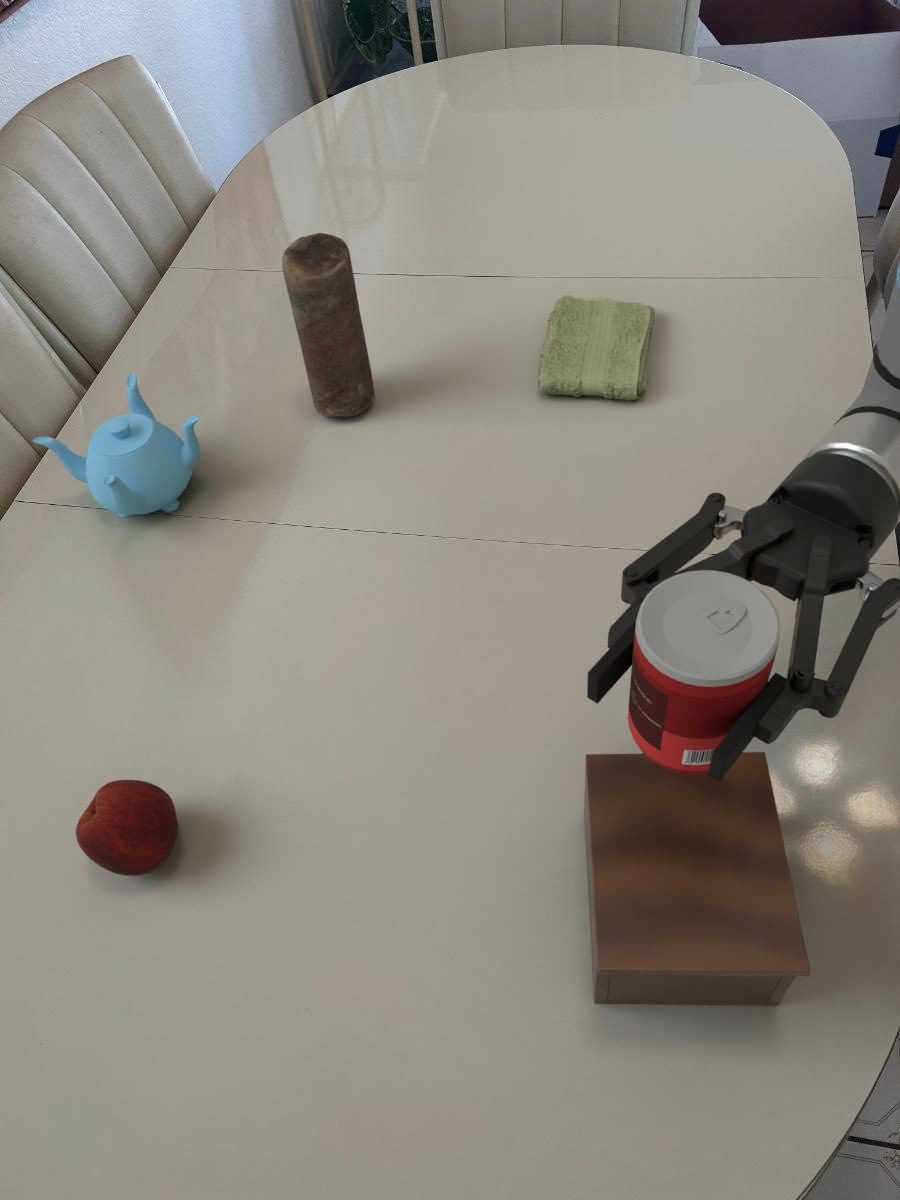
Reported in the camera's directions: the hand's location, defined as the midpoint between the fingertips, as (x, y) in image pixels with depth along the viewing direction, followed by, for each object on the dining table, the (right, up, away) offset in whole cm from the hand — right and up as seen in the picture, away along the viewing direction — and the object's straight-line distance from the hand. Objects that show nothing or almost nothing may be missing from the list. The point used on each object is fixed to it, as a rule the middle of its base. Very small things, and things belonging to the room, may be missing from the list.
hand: (652, 726), depth 53 cm
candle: (-24, +30, +58) cm, 70 cm away
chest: (+5, -16, +17) cm, 24 cm away
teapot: (-45, +19, +52) cm, 71 cm away
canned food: (+4, -1, +7) cm, 8 cm away
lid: (+4, -10, +10) cm, 15 cm away
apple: (-37, -13, +25) cm, 46 cm away
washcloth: (+6, +36, +59) cm, 69 cm away
